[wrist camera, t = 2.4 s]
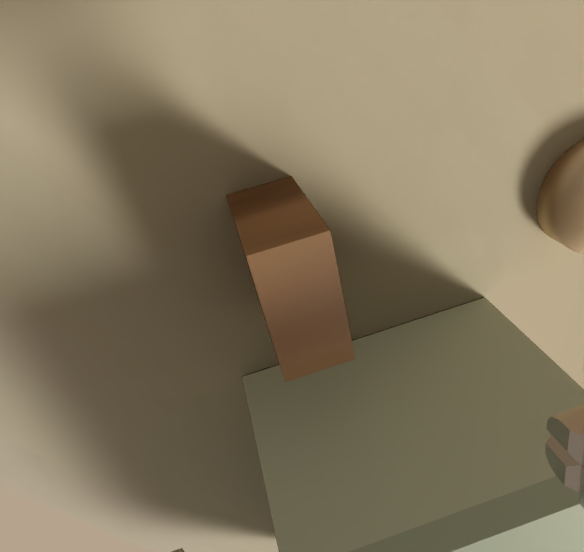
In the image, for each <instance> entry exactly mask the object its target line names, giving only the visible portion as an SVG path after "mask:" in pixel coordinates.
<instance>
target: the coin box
mask: <svg viewBox="0 0 584 552" xmlns="http://www.w3.org/2000/svg"><path fill="white" fill-rule="evenodd" d="M352 344H353V349H354V354H355V359H354V360H351V361H348V362H345V363H342V364H339V365H336V366H333V367H330V368H327V369H324V370H321V371H318V372H315V373H312V374H309V375H306V376H303V377H300V378H297V379H294V380H291V381H288V382H285V380H284V377H283V374H282V371H281V368H280V365H277V366H274V367H271V368H268V369H265V370H262V371H259V372H256V373H252V374H249V375H246V376H243V377H242V379H243V384H244V388H245V393H246V398H247V403H248V407H249V412H250V417H251V422H252V426H253V431H254V436H255V441H256V445H257V450H258V455H259V460H260V464H261V469H262V474H263V479H264V483H265V488H266V493H267V497H268V502H269V507H270V512H271V516H272V521H273V526H274V531H275V535H276V540H277V545H278V550H279V552H584V508H583V507H582V506H581V505H580V504H579V493H578V492H577V491H575V490H573V489H571V488H569V487H566V486H564V485H563V483H562V482H561V481H560V480H559V479H558V477H557V476H556V475H555V473H554V472H553V470H552V468H551V467H550V465H549V462H548V459H547V456H546V454H545V443H546V441H547V440H548V439H549V437H550V436H551V433H550V432H549V431H548V430H547V429H546V428H547V420H548V419H549V418H550V417H551V416H553V415H556V414H559V413H561V412H564V411H567V410H569V409H572V408H575V407H577V406H580V405H583V404H584V389H583V388H582V387H581V386H579V385H578V384H577V383H576V382H575V381H574V380H573V379H572V378H571V377H570V376H569V375H568V374H567V373H566V372H564V371H563V370H562V369H561V368H560V367H559V366H558V365H557V364H556V363H555V362H554V361H553V360H552V359H551V358H549V357H548V356H547V355H546V354H545V353H544V352H543V351H542V350H541V349H540V348H539V347H538V346H537V345H535V344H534V343H533V342H532V341H531V340H530V339H529V338H528V337H527V336H526V335H525V334H524V333H523V332H522V331H520V330H519V329H518V328H517V327H516V326H515V325H514V324H513V323H512V322H511V321H510V320H509V319H508V318H507V317H505V316H504V315H503V314H502V313H501V312H500V311H499V310H498V309H497V308H496V307H495V306H494V305H493V304H492V303H490V302H489V301H488V300H487V299H486V298H482V299H479V300H475V301H472V302H469V303H466V304H463V305H460V306H457V307H454V308H451V309H448V310H445V311H442V312H439V313H436V314H433V315H430V316H427V317H424V318H420V319H417V320H414V321H411V322H408V323H405V324H402V325H399V326H396V327H393V328H390V329H387V330H384V331H381V332H378V333H375V334H372V335H369V336H366V337H362V338H359V339H356V340H353V341H352Z"/></svg>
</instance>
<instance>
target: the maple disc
mask: <svg viewBox="0 0 584 552" xmlns="http://www.w3.org/2000/svg"><path fill="white" fill-rule="evenodd" d="M537 218H538V221H539V224H540V226H541V228H542V230H543V231H544V232H545V233H546V234H547V235H548V236H549V237H551V238H553V239H554V240H556V241H558V242H559V243H561V244H563V245H564V246H566V247H568V248H569V249H571V250H573V251H575V252H578V253H584V139H583V140H581V141H580V142H578V143H576V144H575V145H573V146H572V147H571V148H570V149H568V150H567V151H566V152H565V153H564V154H563V155H562V156H561V157H560V158H559V159H558V160H557V161H556V162H555V164H554V165H553V166H552V168H551V169H550V171H549V172H548V174H547V176H546V177H545V179H544V181H543V184H542V186H541V189H540V191H539V195H538V200H537Z"/></svg>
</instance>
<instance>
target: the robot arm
mask: <svg viewBox="0 0 584 552" xmlns="http://www.w3.org/2000/svg"><path fill="white" fill-rule="evenodd" d="M546 429H547V430H548V431H549V432H550V433H551V436H550V437H549V439H548V440H547V441H546V443H545V454H546V456H547V459H548V462H549V465H550V467H551V468H552V470H553V472H554V473H555V475H556V476H557V477H558V479H559V480H560V481H561V482H562V483H563V485H564V486H566V487H569V488H571V489H573V490H575V491H577V492H578V493H579V504H580V505H581V506H582V507H583V508H584V404H583V405H580V406H577V407H575V408H572V409H569V410H567V411H564V412H561V413H559V414H556V415H553V416H551V417H550V418H549V419H548V420H547V428H546ZM172 552H184V550H183V549H182V548H181V549H178V550H175V551H172Z"/></svg>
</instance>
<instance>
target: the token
mask: <svg viewBox="0 0 584 552" xmlns="http://www.w3.org/2000/svg"><path fill="white" fill-rule="evenodd" d="M226 196H227V199H228V202H229V206H230V209H231V212H232V215H233V218H234V222H235V225H236V228H237V231H238V235H239V238H240V241H241V244H242V247H243V251H244V254H245V257H246V260H247V264H248V267H249V270H250V273H251V276H252V280H253V283H254V286H255V289H256V293H257V296H258V299H259V302H260V305H261V309H262V312H263V315H264V318H265V321H266V324H267V327H268V330H269V334H270V337H271V340H272V343H273V346H274V349H275V352H276V355H277V359H278V362H279V365H280V368H281V371H282V374H283V377H284V380H285V382H288V381H291V380H294V379H297V378H300V377H303V376H306V375H309V374H312V373H315V372H318V371H321V370H324V369H327V368H330V367H333V366H336V365H339V364H342V363H345V362H348V361H351V360H354V359H355V354H354V349H353V344H352V339H351V334H350V329H349V323H348V318H347V313H346V308H345V303H344V298H343V293H342V287H341V282H340V277H339V272H338V267H337V262H336V257H335V251H334V246H333V241H332V236H331V231H330V229H329V228H328V226H327V225H326V224H325V222H324V221H323V219H322V218H321V217H320V215H319V214H318V212H317V211H316V210H315V208H314V207H313V206H312V204H311V203H310V201H309V200H308V199H307V197H306V196H305V194H304V193H303V192H302V190H301V189H300V187H299V186H298V185H297V183H296V182H295V180H294V179H293V178H292V176H289V177H286V178H283V179H279V180H276V181H272V182H269V183H266V184H262V185H259V186H255V187H252V188H249V189H245V190H242V191H238V192H235V193H232V194H228V195H226Z"/></svg>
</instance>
